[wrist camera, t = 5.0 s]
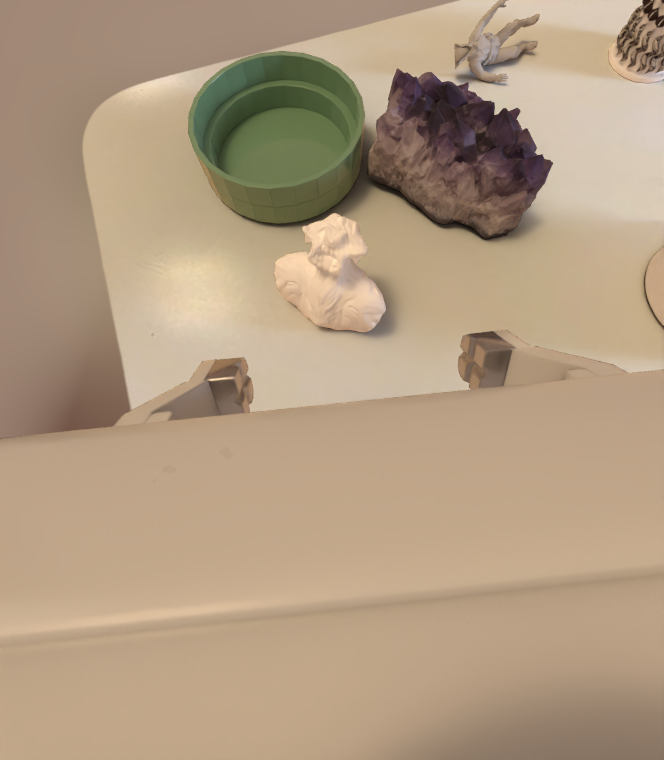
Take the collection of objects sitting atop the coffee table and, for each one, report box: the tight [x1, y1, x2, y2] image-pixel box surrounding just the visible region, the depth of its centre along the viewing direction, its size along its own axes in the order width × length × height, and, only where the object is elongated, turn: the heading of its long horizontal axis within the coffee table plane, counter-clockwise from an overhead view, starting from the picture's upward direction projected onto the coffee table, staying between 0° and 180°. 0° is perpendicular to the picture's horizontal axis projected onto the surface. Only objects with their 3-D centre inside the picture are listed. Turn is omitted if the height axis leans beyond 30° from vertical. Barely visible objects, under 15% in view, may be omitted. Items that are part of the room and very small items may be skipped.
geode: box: [367, 69, 553, 240], centre depth 33 cm, size 20×12×10 cm, turn 52°
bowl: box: [188, 51, 365, 223], centre depth 36 cm, size 19×19×6 cm
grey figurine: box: [454, 0, 539, 82], centre depth 40 cm, size 8×5×12 cm
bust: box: [274, 213, 386, 332], centre depth 30 cm, size 12×8×11 cm
